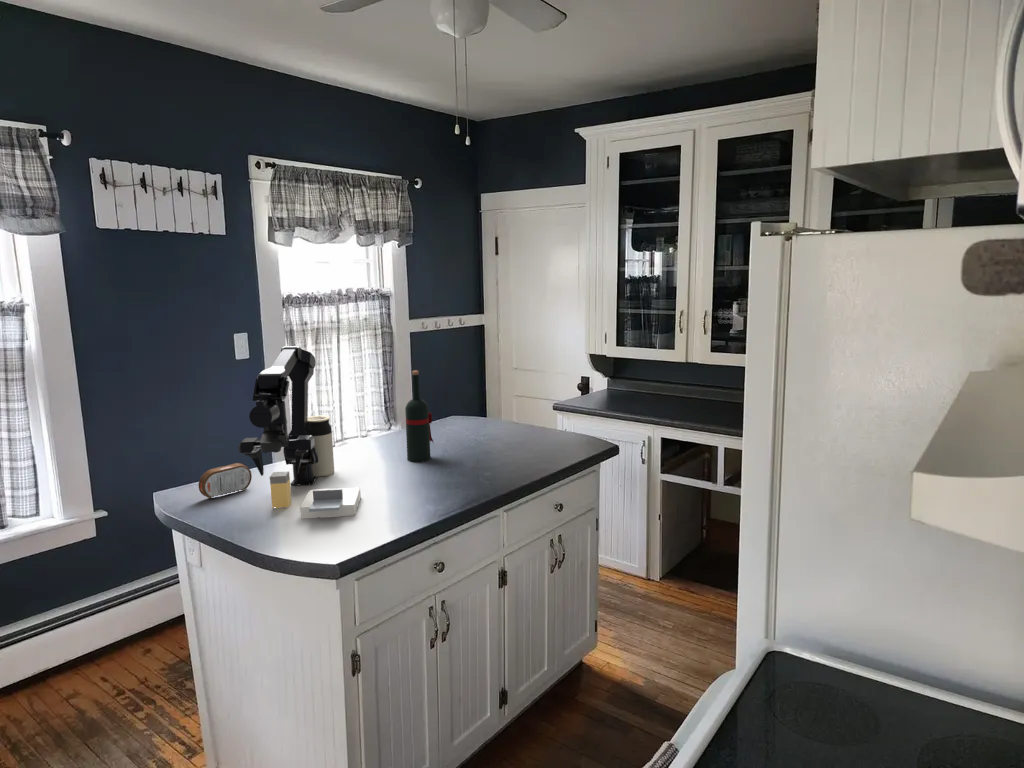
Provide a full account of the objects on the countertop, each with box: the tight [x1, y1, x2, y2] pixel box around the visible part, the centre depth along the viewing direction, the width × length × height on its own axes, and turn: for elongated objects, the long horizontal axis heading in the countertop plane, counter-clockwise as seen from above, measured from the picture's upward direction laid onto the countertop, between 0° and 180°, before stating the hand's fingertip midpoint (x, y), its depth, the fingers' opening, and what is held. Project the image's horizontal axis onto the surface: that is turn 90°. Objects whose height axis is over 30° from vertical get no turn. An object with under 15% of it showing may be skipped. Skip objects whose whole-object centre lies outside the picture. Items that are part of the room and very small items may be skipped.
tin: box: [197, 462, 253, 499], centre depth 195 cm, size 15×3×8 cm, turn 141°
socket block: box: [299, 487, 362, 519], centre depth 183 cm, size 14×14×3 cm
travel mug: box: [308, 414, 335, 478], centre depth 212 cm, size 8×8×18 cm
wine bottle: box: [405, 370, 434, 463], centre depth 226 cm, size 8×10×30 cm
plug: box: [269, 471, 292, 509], centre depth 185 cm, size 4×4×9 cm
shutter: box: [309, 487, 343, 512], centre depth 175 cm, size 7×7×3 cm
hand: (279, 474), depth 184 cm, fingers open, 9 cm apart
